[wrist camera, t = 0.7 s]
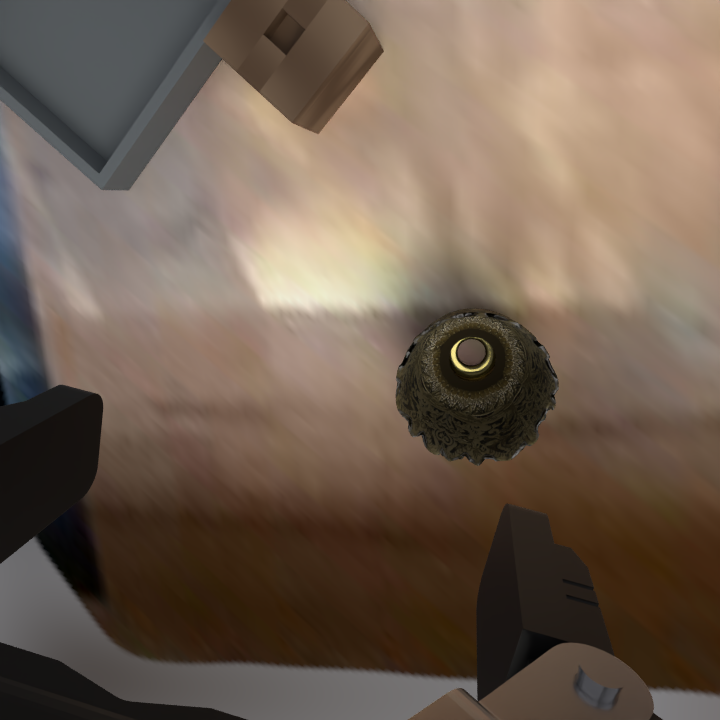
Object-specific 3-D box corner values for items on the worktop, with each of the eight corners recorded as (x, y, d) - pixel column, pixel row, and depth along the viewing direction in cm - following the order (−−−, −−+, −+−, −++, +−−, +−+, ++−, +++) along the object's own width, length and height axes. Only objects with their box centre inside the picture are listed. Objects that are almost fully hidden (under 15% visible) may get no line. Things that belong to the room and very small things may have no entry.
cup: (493, 434, 39) (502, 494, 31) (385, 374, 39) (368, 419, 31) (562, 328, 36) (590, 364, 29) (448, 265, 36) (445, 284, 29)
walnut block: (306, -21, 34) (276, -65, 28) (383, 51, 34) (369, 22, 29) (243, 65, 36) (202, 40, 30) (318, 134, 36) (291, 122, 30)
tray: (75, -178, 34) (39, -213, 31) (264, -2, 34) (247, -20, 32) (-46, 35, 37) (-88, 21, 34) (128, 190, 38) (101, 189, 35)
